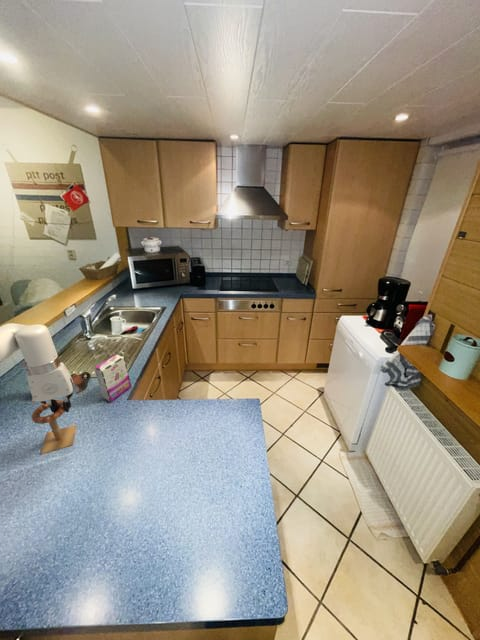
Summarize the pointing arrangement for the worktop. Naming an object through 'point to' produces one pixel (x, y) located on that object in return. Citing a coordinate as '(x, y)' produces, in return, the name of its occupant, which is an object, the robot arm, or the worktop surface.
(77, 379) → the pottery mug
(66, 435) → the post
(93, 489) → the worktop surface
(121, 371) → the candy bar box
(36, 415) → the ring
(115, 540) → the worktop surface
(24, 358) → the robot arm
